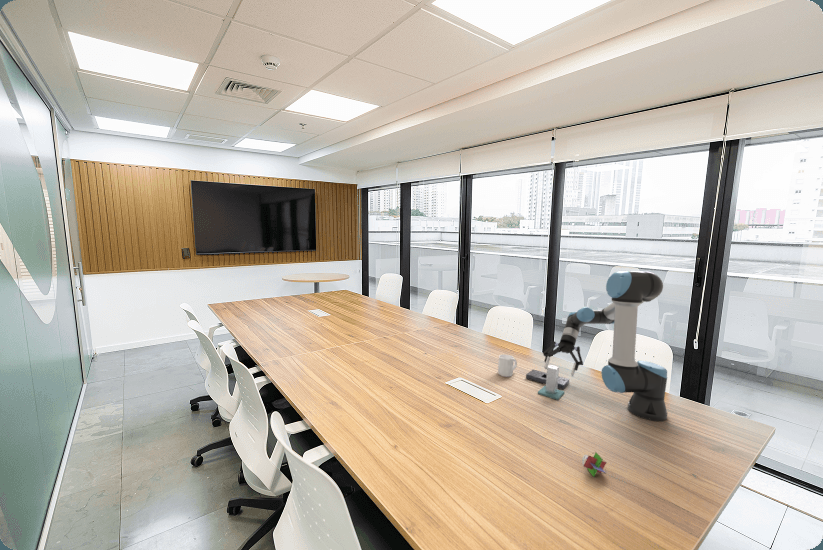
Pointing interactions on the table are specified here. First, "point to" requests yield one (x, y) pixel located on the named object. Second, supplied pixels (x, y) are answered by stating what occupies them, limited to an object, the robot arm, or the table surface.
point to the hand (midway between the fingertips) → (558, 371)
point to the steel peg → (552, 379)
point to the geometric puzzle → (594, 464)
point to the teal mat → (554, 396)
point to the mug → (506, 365)
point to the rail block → (541, 378)
